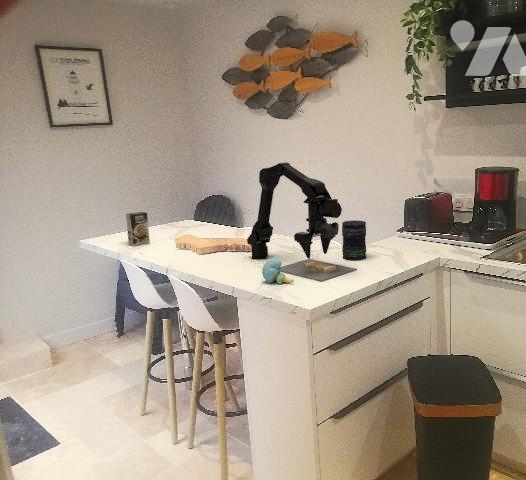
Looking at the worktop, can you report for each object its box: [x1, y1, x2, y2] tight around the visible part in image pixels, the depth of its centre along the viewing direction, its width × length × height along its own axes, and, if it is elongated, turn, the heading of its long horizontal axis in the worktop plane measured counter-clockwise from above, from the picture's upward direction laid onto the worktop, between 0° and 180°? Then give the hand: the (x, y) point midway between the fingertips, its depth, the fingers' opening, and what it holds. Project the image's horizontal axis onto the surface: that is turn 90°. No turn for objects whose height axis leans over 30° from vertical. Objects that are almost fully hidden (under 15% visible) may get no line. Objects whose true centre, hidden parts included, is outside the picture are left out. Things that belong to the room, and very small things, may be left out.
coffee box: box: [125, 211, 151, 247], centre depth 259 cm, size 9×6×16 cm
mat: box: [280, 258, 358, 283], centre depth 197 cm, size 25×20×1 cm
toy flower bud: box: [261, 257, 295, 285], centre depth 182 cm, size 7×9×12 cm
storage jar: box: [341, 219, 367, 262], centre depth 210 cm, size 10×10×15 cm
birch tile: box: [303, 261, 336, 274], centre depth 194 cm, size 2×5×12 cm
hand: (317, 256), depth 194 cm, fingers open, 9 cm apart
